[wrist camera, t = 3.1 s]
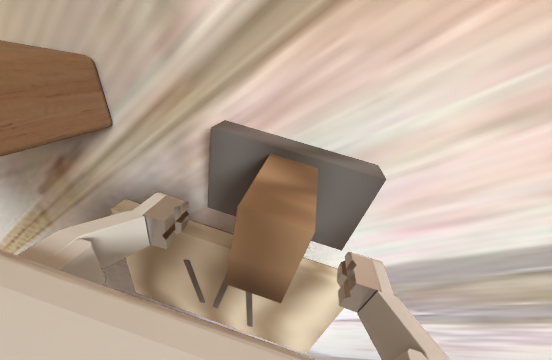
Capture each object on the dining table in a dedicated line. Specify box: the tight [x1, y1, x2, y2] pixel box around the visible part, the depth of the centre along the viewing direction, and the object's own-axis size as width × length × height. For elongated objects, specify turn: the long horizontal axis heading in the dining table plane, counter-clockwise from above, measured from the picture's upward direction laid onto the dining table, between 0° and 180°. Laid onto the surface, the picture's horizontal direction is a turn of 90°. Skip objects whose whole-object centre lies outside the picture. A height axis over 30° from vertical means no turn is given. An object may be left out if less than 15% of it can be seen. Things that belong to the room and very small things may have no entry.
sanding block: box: [208, 120, 386, 303], centre depth 11 cm, size 10×6×7 cm, turn 77°
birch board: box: [111, 199, 344, 354], centre depth 21 cm, size 22×14×2 cm, turn 77°
